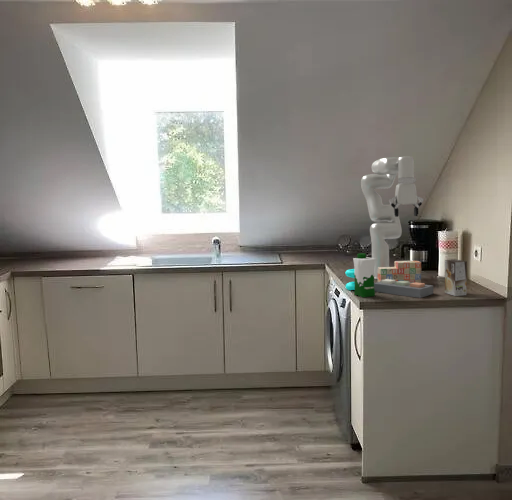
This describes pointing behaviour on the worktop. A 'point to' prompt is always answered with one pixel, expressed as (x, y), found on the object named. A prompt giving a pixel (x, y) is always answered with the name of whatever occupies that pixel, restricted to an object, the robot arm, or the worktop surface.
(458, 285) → the coffee box
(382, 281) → the cream key
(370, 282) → the milk carton
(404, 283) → the sage key
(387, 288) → the key panel
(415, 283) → the terracotta key
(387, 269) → the stack of blocks
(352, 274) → the donuts
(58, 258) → the worktop surface
